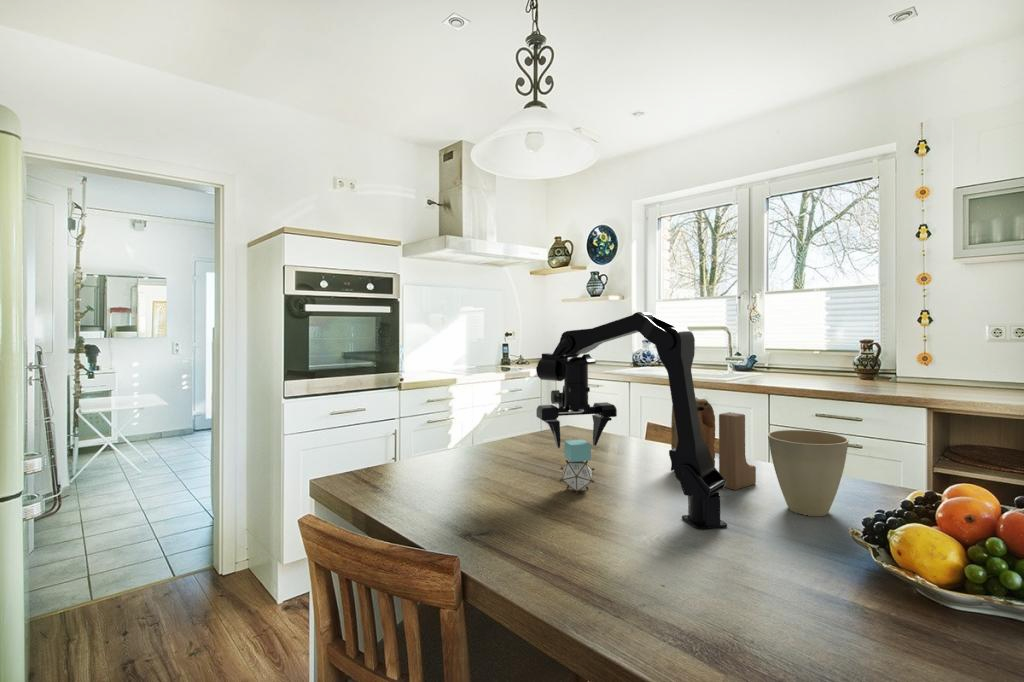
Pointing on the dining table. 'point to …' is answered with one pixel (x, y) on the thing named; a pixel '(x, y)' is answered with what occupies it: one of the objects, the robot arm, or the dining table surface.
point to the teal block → (577, 450)
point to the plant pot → (808, 468)
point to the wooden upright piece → (705, 423)
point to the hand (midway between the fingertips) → (576, 446)
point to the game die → (577, 475)
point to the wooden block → (734, 452)
